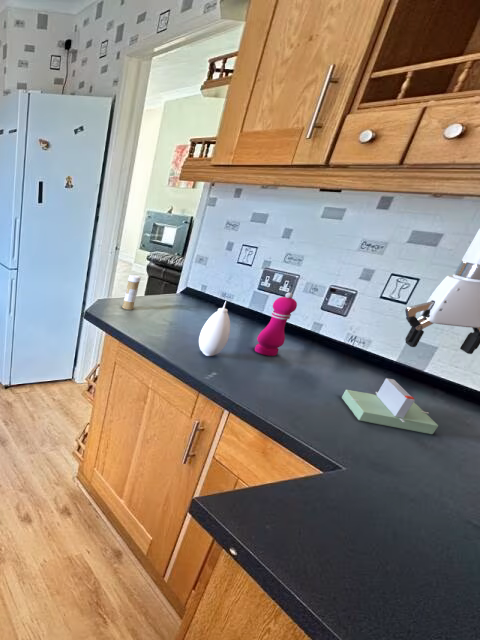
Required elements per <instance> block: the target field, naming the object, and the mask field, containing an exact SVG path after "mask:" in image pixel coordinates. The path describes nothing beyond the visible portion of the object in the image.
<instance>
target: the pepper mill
mask: <svg viewBox="0 0 480 640" xmlns="http://www.w3.org/2000/svg"><path fill="white" fill-rule="evenodd" d="M292 297H293V293H292V292H290V291H288V292H286V293H285V294H284V296H279V297H278V298H276V299H275V300H274V301H273V303H272V308H273V310H272V311H271V314H270V316H271V318H270V321H269V322H268V323H267V325H266V326H265V327H264V328H263V329H262V330H261V331H260V332H259V334H258V335H257V337H256V338H257V339H256V340H257V344H256V345H255V347H254V351H255V352H256V353H258V354H260V355H262V356H266V357H267V356H268V357H274V356H277V355H278V353H279V350H280V349H279V348H280V347H282V346H284V344H285V341H286V334H285V326H286V324H287V322H288V320H290V319H291V316H292V313H294V312H295V311H296V309H297V306H298V302H297V301H296V300H295V298H292Z"/></svg>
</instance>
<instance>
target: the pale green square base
mask: <svg viewBox="0 0 480 640" xmlns="http://www.w3.org/2000/svg"><path fill="white" fill-rule="evenodd" d="M377 393H378V391H375V393H369V392H363V391H356V390H350V389H345V390H344V393H343V394H342V396H341V399H342V400H343V401H344V403H345V404H346V405H347V407H348V409H350V411H351V412H352V413H353V415H354V416H355V418H356V419H357V420H358V421H360V422H364V423H370V424H376V425H381V426H385V427H392V428H397V429H402V430H407V431H413V432H418V433H424V434H428V435H433V434H434V433H435V431H436V430H437V429H438V427H439V424H438V423H436V422H435V421H434V420H433V419H432V418H431V417H430V416H429V414H430V412H428V411H424V410H423V409H422V408H421V407H420V406H419V405H418V404H417V403H415V401H414V402H413V404H412V406H411V407H410V409H409V410H408V412H407V413H406V415H405V416H404V418H401V417H395V416H394V415H393V414H392V412H391V411H390V410H389V409H388V408H387V407H386V406H385V405H384V403H383V402H382V401H381V400H380V399H379V398H378V397H377V396H376V395H377Z"/></svg>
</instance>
